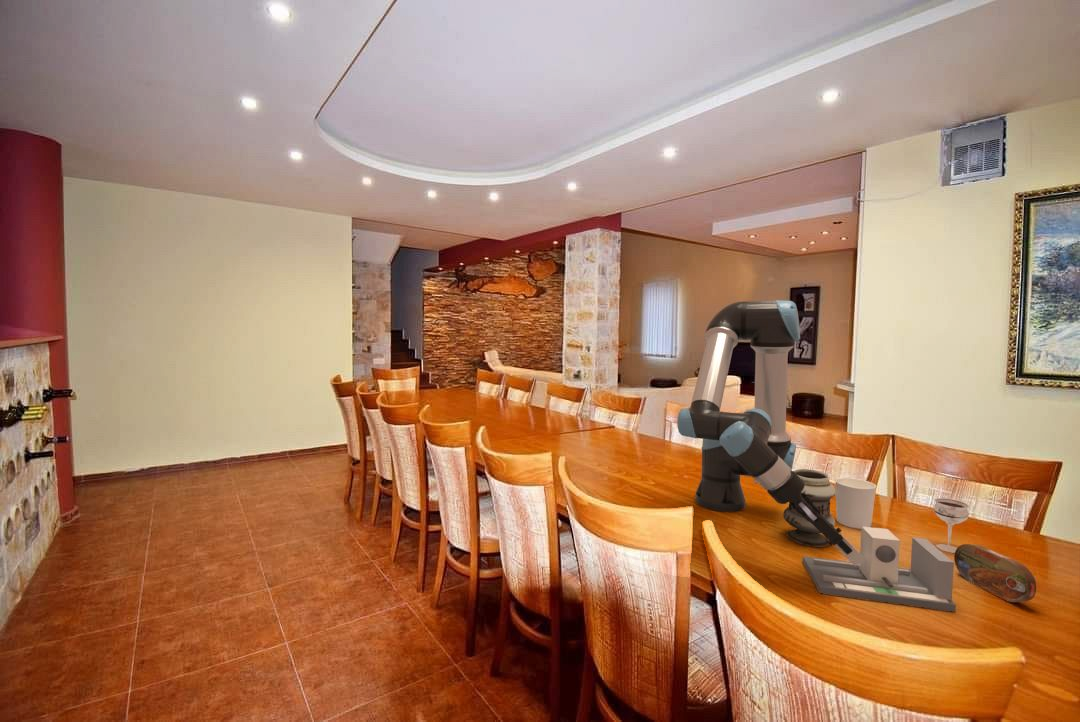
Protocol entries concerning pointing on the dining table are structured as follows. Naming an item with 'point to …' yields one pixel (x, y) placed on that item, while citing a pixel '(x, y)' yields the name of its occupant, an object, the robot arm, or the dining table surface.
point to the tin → (995, 573)
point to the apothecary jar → (820, 496)
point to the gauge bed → (915, 585)
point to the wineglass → (950, 517)
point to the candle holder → (854, 502)
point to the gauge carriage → (879, 555)
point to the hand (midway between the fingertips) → (859, 561)
